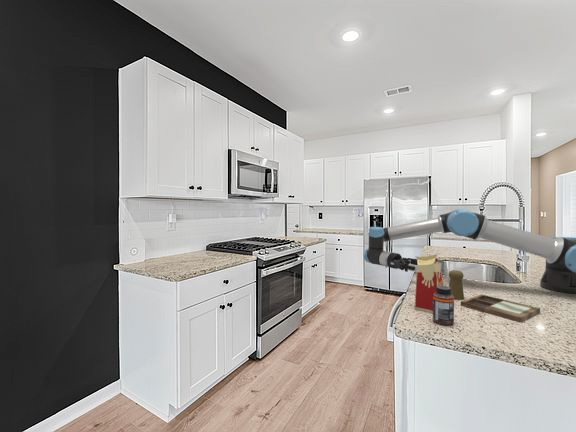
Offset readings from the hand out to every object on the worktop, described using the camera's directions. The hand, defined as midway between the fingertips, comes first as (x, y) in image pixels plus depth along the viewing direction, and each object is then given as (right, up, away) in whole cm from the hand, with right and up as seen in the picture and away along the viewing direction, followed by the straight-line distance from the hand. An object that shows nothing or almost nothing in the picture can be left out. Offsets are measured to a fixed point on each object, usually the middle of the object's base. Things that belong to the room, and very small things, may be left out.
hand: (432, 268), depth 124 cm
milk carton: (-11, -11, -20) cm, 25 cm away
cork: (+5, -11, -8) cm, 14 cm away
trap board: (+14, -11, -21) cm, 27 cm away
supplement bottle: (-13, -12, -33) cm, 37 cm away
